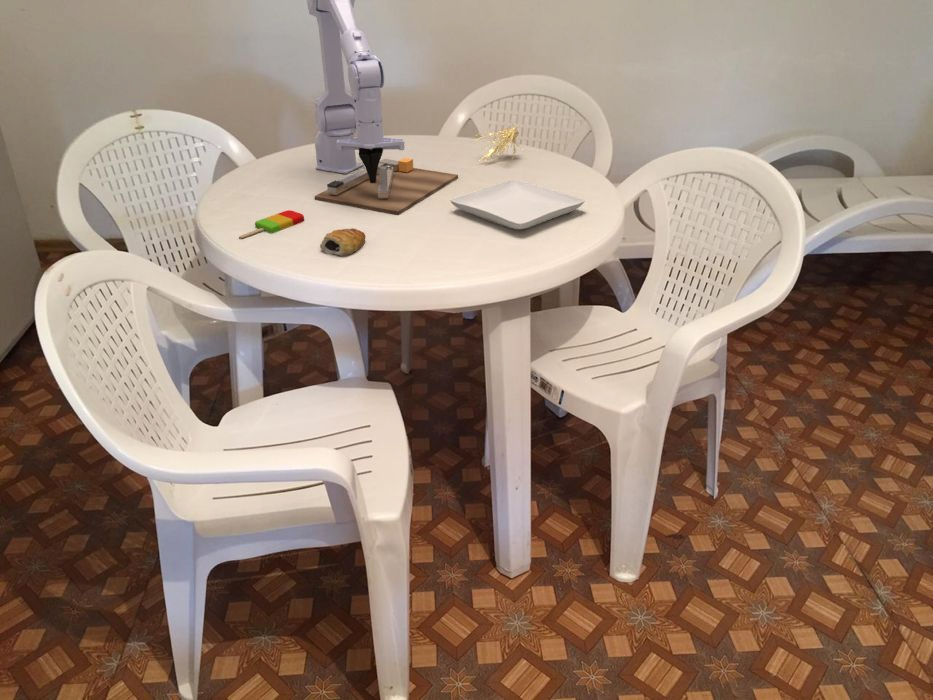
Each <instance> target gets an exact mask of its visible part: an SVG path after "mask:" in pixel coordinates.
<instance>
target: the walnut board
mask: <svg viewBox="0 0 933 700" xmlns="http://www.w3.org/2000/svg"><path fill="white" fill-rule="evenodd" d="M457 179H459V175H458V174H455V173H448V172H441V171H435V170H430V169H429V170H428V169H421V168H417V167H416V168H415V167H413V169H412V170H410V171H408V172H403V171H399V170H398V171H394V174H393V178H392V183H391V188H390V192H389V197H388V198H378V189H379V185H380V183H379V174H377V175H376V183H370V179H367V180H365V181H363V182H361V183H359V184H357V185H355V186H353V187H351V188H349V189H347V190H345V191H344V192H342V193H340V194H338V195H333V194H328V189H326V190H323V191H322V192H320V193H318V194H316V195H314V196H313V197H314V200H315V201H320V202H326V203H330V204H331V203H332V204H336V205H341V206H348V207H353V208H357V209H358V208H359V209H364V210H369V211H374V212H379V213H385V214H389V215H396V216H399V215H401V214H402V213H404V212H406V211H407V210H410V208H412V207H414V206H415V205H417V204H419V203H420V202H423V200H425V199H427V198H428V197H430V196H431V195H433V194H435V193H436V192H438V191H440V190H442V189H443V188H445V187H446V186H448V185H450V184H451V183H453V182H454V181H457Z"/></svg>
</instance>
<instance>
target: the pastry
mask: <svg viewBox="0 0 933 700" xmlns="http://www.w3.org/2000/svg"><path fill="white" fill-rule="evenodd" d="M365 242H366V234H365V232H364V231H361V230H359V229H357V228H343V229H334V230H332V231H331V232H329V233H326V234H325V236H324V237H323V239H322V241H321V243H320V244H319V248H320V249H321V251H322V252H323V253H325V254H329V255H336V256H348V255H351V254H353V253H354V252H357V251H358V250H359V249H361V248H362V246H363V245H364V244H365Z"/></svg>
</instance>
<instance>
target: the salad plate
mask: <svg viewBox="0 0 933 700" xmlns="http://www.w3.org/2000/svg"><path fill="white" fill-rule="evenodd" d="M450 203H451V204H452V205H453V206H454V207H456V208H457V209H459V210H461V211H463V212H465V213H468V214H471V215H473V216H476V217H478V218H481V219H483V220H486V221H489V222H492V223H494V224H498V225H500V226H502V227H505V228H508V229H509V228H510V229H512V228H513V230H525V229H528V228H532V227H535V226H537V224H538V225H540V224H543V223H545V222H548V221H550V220H552V218H553V219H555V218H557V217H560V216H562V215H565V214H568V213H571V212H573V211H575V210H577V209H579V208H580V207H581V206H582V205H583V204H584V203H586V201H585V199H582V198H579V197H577V196H573V195H570V194H567V193H565V192H561V191H558V190H555V189H552V188H548V187H546V186H541V185H538V184H535V183H532V182H531V183H530V182H527V181H524V180H520V179H516V178H513V179H510V180H506V181H502V182H499V183H496V184H493V185H490V186H486V187H482V188H480V189H477V190H474V191H470V192H467V193H465V194H461V195H458V196H456V197H452V198H450ZM547 220H548V221H547ZM542 222H543V223H542Z"/></svg>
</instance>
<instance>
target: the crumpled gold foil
mask: <svg viewBox="0 0 933 700" xmlns="http://www.w3.org/2000/svg"><path fill="white" fill-rule="evenodd" d="M504 126H505V123H504ZM511 126H512V127H511V128H509V127H508V126H505V129H500V130H497V131H496V130H493V131H495V132H490V131H487V130H486V131H484V133H487V134H486V135H484V136H480V137H478V138H476V139H474V140H473V141H472V142H471V143H473V142H476V141H478V140H481V139H483V138H484V137H485V138H489V139H490V138H492V137H494V136H495V137H494V138H492V139H490V140H489V139H488V142H491V146H490V145H487V146H485V147H483V146H482V147H480V149H481V151H483V150H485V149H487V148H489V147H490V148H489V150H488V151H487V153H486V154H485V155H483V156H482V157H480V158H479V160H478V162H480V161H481V160H482V159H483V160H482V163H484V162H486V161H487V160H488V159H489V157H492V158H493V156H497V159H495V160H496V161H495V162H497V161H498V160H499V158H498V157H499V156H501V155H503V154H504V153H505V151H506V150H507V151H506V153H508V150H509V149H507V148H509V146H510V144H512V145H511V147H510V148H512V147H513V152H512V154H513V155H512V157H511V160H513V158H514V156H515V154H516V153H517V148H516V147H518V148H520V150H523V147H521V146H520V145H521V142H520V143H517V137H519V135H520V131H519V130H517V128H518V127H519V125H513V123H512V125H511ZM479 134H480V133H478V134H476V135H475V136H476V137H477V136H478V135H479ZM493 135H494V136H493ZM484 142H485V143H486V142H487V140H485V141H484ZM492 146H495V147H494V148H493V147H492ZM482 148H483V149H482ZM491 161H492V159H490V161H489V162H491Z"/></svg>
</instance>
